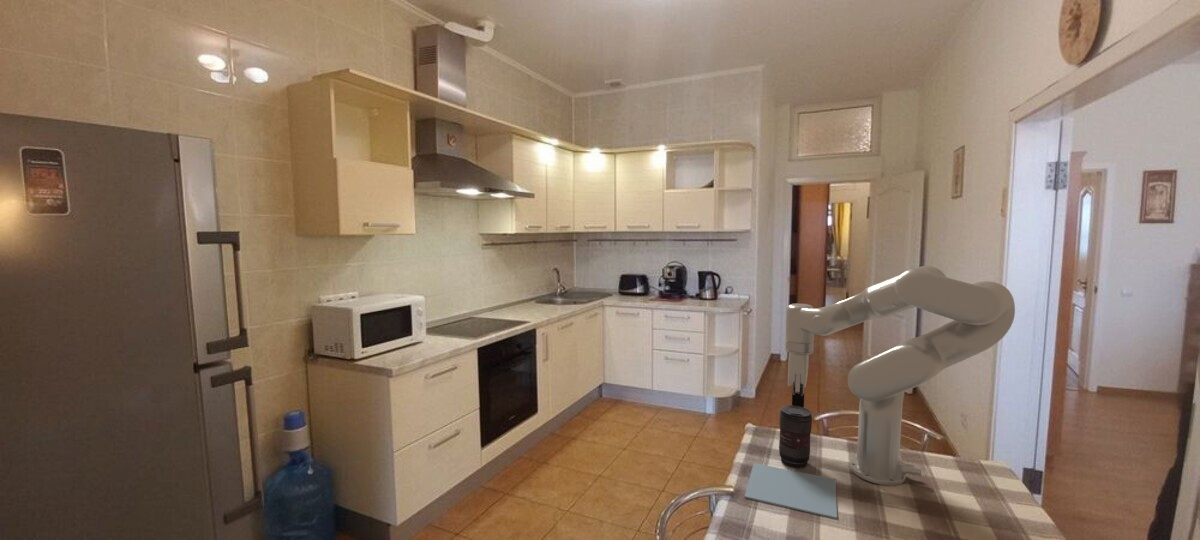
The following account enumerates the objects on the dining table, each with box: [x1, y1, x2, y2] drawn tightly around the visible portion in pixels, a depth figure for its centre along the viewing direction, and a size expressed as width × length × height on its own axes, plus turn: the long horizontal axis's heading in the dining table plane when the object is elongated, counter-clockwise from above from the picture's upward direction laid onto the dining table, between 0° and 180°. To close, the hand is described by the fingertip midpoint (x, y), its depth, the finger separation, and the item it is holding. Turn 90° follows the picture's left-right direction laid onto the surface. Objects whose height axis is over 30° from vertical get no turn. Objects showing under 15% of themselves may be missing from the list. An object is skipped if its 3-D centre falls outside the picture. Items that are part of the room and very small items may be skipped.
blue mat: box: [743, 462, 838, 520], centre depth 117 cm, size 20×17×1 cm
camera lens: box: [778, 404, 813, 469], centre depth 129 cm, size 8×8×15 cm
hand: (797, 406), depth 139 cm, fingers closed
